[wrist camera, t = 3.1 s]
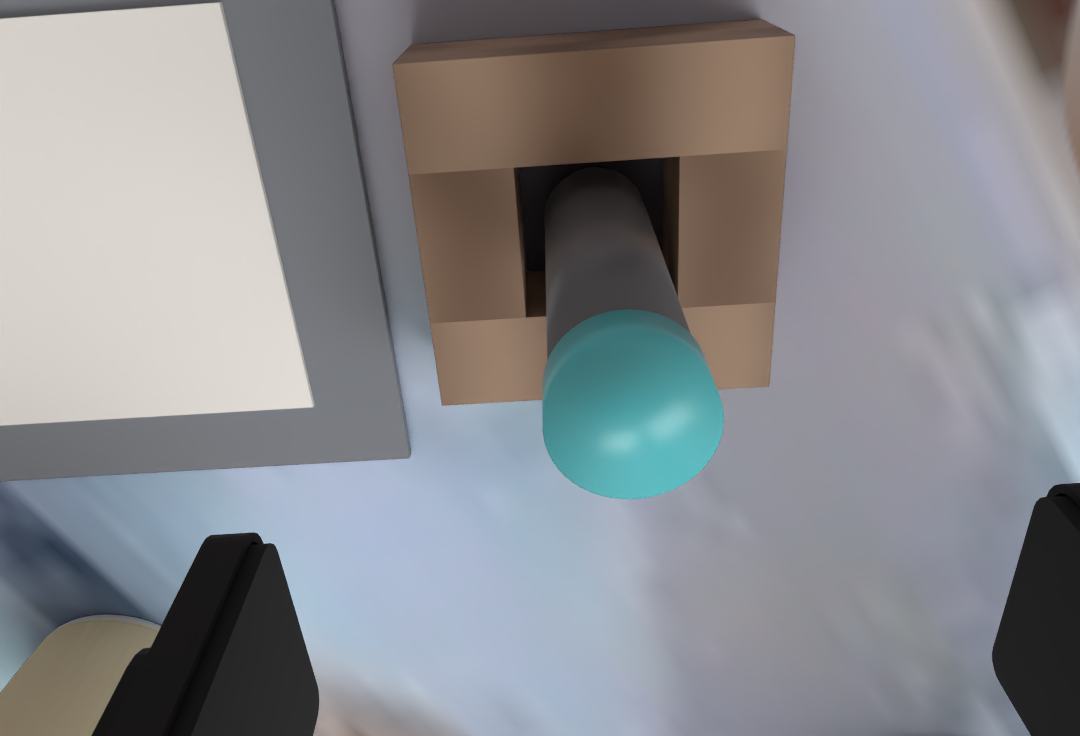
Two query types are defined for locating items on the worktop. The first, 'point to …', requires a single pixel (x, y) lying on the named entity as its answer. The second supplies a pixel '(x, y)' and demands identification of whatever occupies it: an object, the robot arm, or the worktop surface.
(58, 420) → the paper
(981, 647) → the worktop surface
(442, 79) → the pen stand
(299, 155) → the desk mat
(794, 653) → the worktop surface
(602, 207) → the marker
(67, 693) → the coffee cup
